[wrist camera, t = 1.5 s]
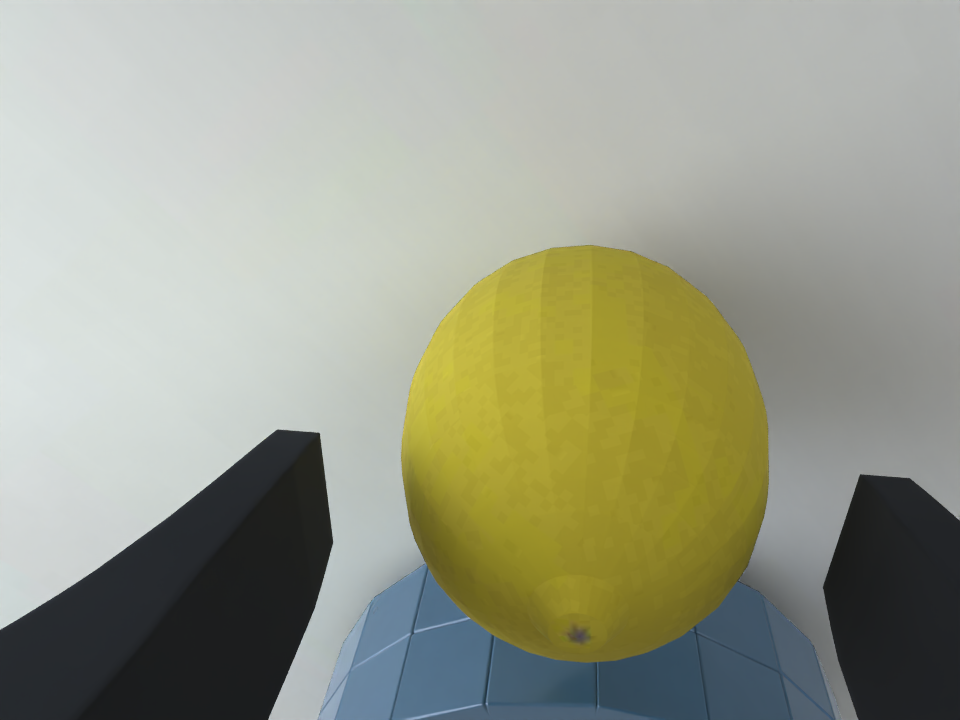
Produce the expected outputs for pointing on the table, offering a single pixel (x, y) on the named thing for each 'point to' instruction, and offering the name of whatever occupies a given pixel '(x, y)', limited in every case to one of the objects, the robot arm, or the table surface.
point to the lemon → (585, 455)
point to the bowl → (571, 668)
